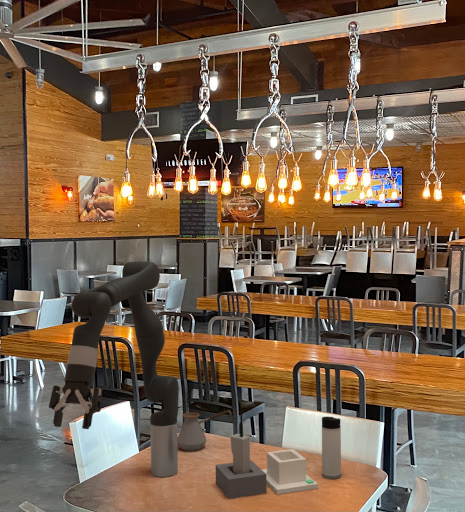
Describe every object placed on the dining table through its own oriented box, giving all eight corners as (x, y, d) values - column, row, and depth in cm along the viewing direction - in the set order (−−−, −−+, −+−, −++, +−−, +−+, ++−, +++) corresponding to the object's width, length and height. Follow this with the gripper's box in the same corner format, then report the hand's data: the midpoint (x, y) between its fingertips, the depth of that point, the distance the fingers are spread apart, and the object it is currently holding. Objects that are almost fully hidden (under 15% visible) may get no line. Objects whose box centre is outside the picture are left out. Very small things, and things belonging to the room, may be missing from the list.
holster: (215, 483, 202) (215, 464, 202) (251, 478, 206) (251, 460, 206) (228, 498, 189) (228, 479, 189) (266, 493, 193) (266, 474, 193)
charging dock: (256, 474, 209) (256, 449, 209) (294, 469, 214) (294, 444, 213) (277, 494, 192) (277, 467, 192) (317, 488, 197) (317, 461, 196)
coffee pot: (173, 452, 233) (173, 412, 233) (180, 442, 244) (179, 404, 244) (229, 453, 230) (229, 413, 230) (233, 444, 242) (233, 405, 242)
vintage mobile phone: (237, 484, 201) (236, 408, 200) (250, 487, 198) (249, 410, 197) (230, 488, 198) (229, 410, 197) (243, 491, 195) (242, 412, 194)
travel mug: (317, 476, 207) (317, 417, 206) (329, 471, 212) (328, 413, 211) (333, 481, 202) (333, 420, 202) (344, 475, 207) (344, 416, 207)
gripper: (112, 368, 165) (102, 431, 160) (67, 366, 170) (56, 427, 164) (97, 363, 158) (86, 428, 153) (50, 361, 163) (39, 424, 158)
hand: (71, 427), depth 159 cm, fingers open, 8 cm apart
